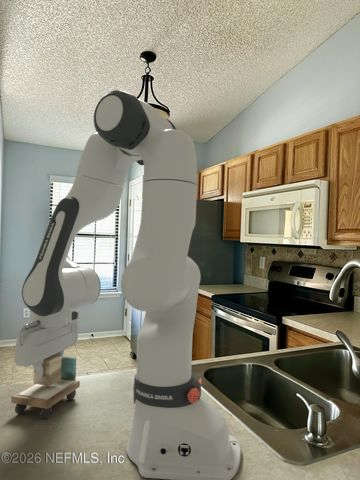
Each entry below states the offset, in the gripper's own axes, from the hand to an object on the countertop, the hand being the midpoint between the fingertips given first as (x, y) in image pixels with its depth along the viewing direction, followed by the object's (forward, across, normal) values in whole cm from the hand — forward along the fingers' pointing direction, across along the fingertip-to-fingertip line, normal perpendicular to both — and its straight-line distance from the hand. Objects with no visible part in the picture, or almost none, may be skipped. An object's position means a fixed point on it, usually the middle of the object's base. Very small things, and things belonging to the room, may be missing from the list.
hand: (48, 372), depth 84 cm
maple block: (+2, 0, 0) cm, 2 cm away
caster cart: (+8, 0, 0) cm, 8 cm away
